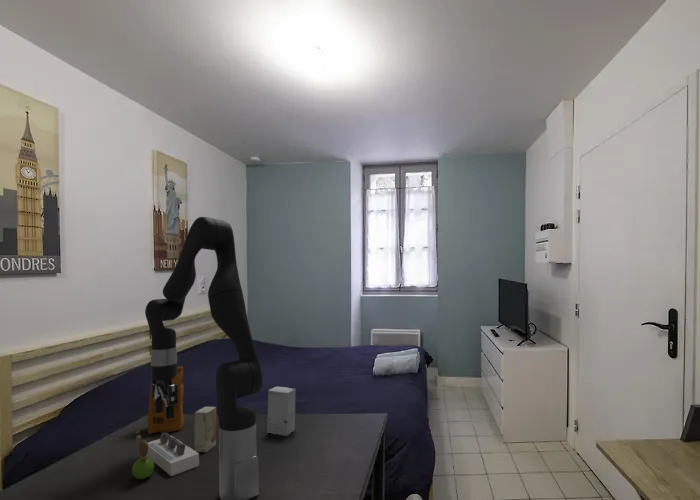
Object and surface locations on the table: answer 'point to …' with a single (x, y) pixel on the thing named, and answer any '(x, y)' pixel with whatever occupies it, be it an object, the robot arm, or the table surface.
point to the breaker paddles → (172, 443)
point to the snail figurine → (142, 460)
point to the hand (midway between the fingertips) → (164, 415)
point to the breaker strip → (172, 457)
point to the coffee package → (158, 420)
